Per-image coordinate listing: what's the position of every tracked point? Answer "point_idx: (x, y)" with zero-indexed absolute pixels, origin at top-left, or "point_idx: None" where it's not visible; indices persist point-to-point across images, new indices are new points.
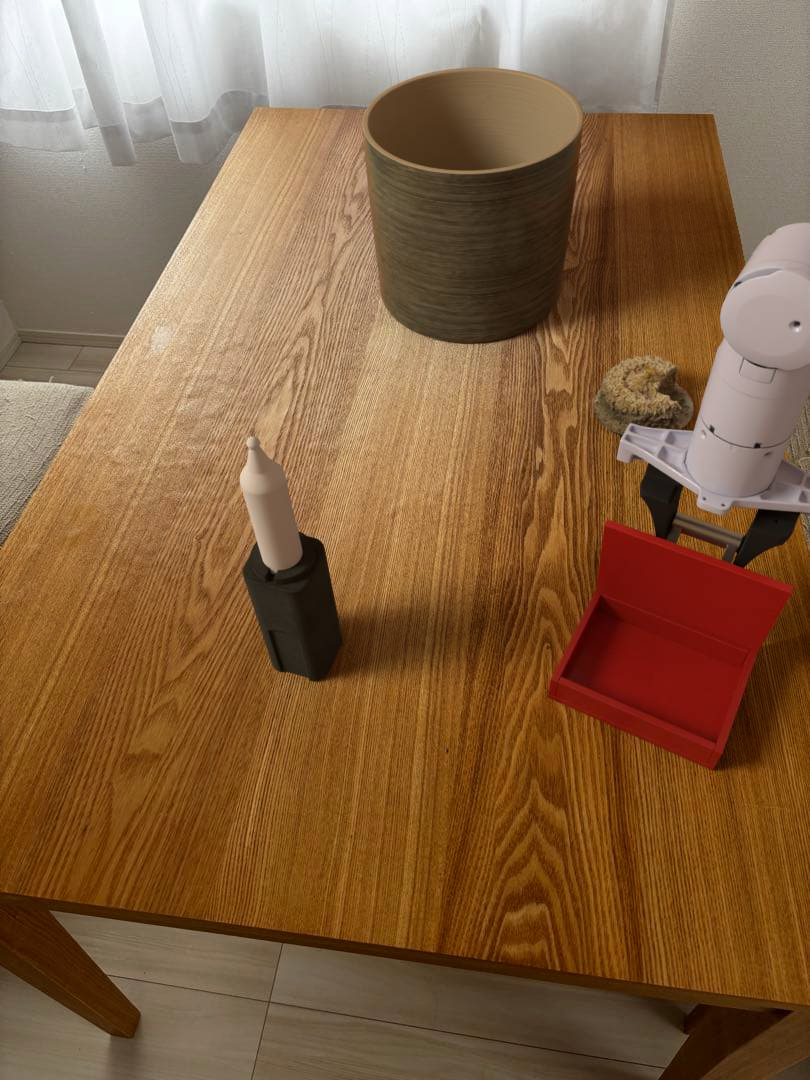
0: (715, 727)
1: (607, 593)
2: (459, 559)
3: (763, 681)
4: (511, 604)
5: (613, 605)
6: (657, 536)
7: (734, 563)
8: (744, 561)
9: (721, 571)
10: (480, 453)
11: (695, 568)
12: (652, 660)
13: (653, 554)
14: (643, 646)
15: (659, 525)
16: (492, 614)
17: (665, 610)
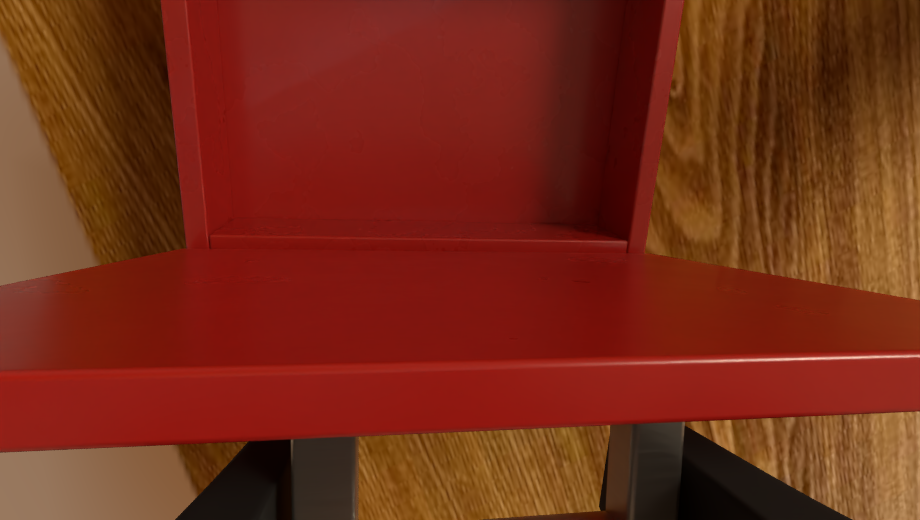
0: (229, 11)
1: (614, 252)
2: (896, 228)
3: (176, 213)
4: (772, 164)
5: (582, 233)
6: (703, 440)
7: (282, 466)
8: (213, 505)
9: (311, 348)
10: (891, 486)
11: (486, 321)
12: (440, 144)
13: (730, 315)
14: (471, 174)
15: (795, 507)
16: (807, 119)
17: (466, 252)
